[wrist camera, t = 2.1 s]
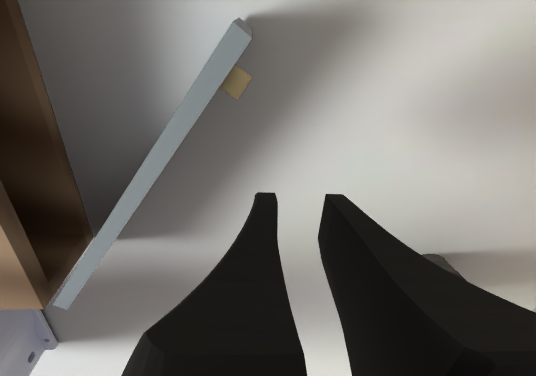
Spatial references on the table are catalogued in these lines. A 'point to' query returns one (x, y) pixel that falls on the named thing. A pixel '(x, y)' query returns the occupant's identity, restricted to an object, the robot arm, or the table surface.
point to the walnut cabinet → (32, 179)
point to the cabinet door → (166, 148)
